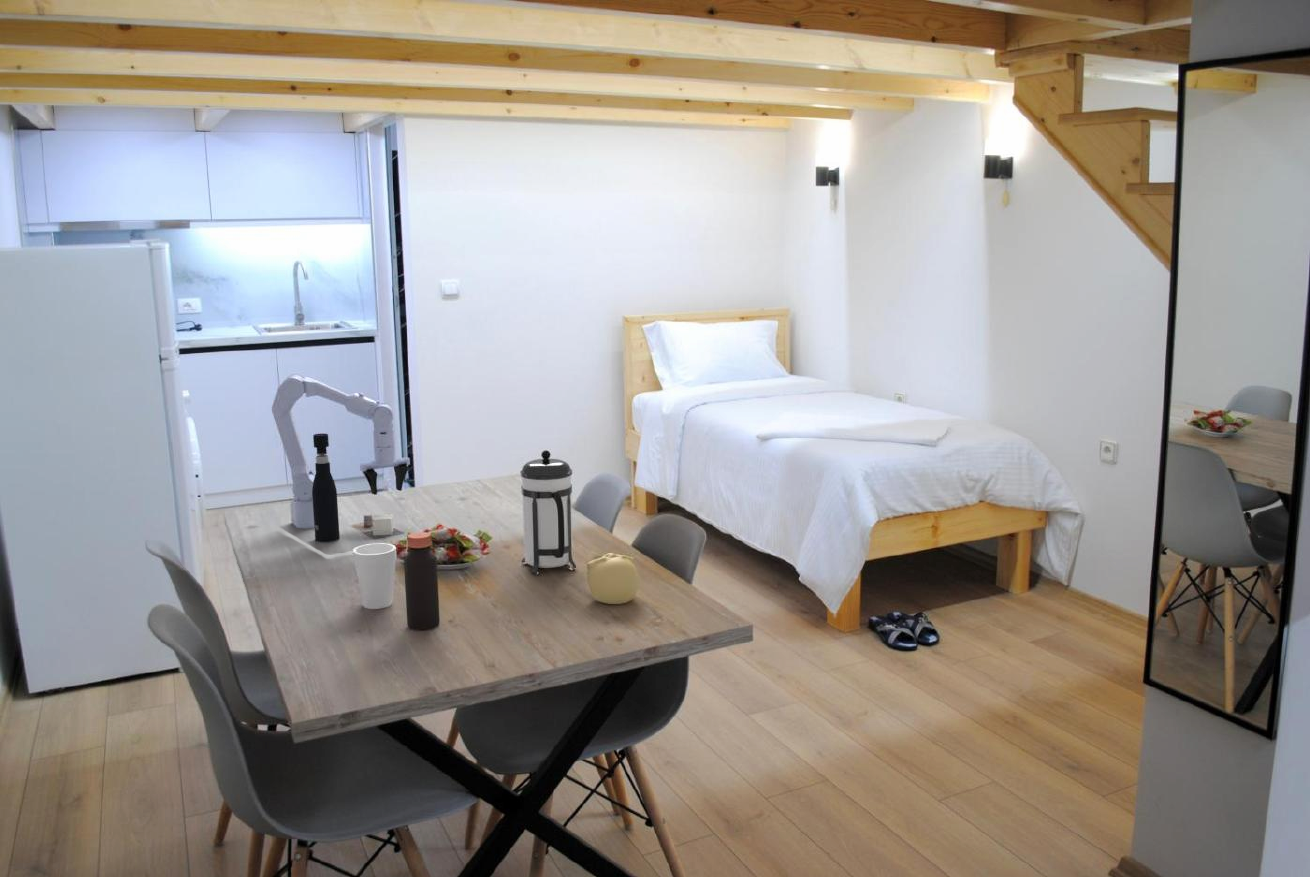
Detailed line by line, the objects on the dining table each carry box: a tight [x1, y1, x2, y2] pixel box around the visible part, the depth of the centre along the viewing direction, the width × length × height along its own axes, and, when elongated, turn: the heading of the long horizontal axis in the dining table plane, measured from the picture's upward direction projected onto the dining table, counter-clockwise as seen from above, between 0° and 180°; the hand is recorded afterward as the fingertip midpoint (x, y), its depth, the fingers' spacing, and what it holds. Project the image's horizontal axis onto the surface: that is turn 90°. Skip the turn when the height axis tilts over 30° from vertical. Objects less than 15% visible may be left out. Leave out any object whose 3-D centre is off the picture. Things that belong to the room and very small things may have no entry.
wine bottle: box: [312, 433, 341, 543], centre depth 287 cm, size 6×6×30 cm
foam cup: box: [352, 542, 398, 610], centre depth 239 cm, size 10×9×13 cm
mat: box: [360, 527, 406, 540], centre depth 295 cm, size 9×9×1 cm
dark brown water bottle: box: [403, 531, 441, 631], centre depth 225 cm, size 7×7×20 cm
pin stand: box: [349, 513, 373, 532], centre depth 303 cm, size 8×8×4 cm
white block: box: [372, 514, 395, 535], centre depth 295 cm, size 5×5×4 cm
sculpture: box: [586, 552, 640, 605], centre depth 241 cm, size 12×12×11 cm
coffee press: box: [519, 450, 577, 575], centre depth 262 cm, size 17×16×30 cm
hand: (386, 492), depth 307 cm, fingers open, 7 cm apart
